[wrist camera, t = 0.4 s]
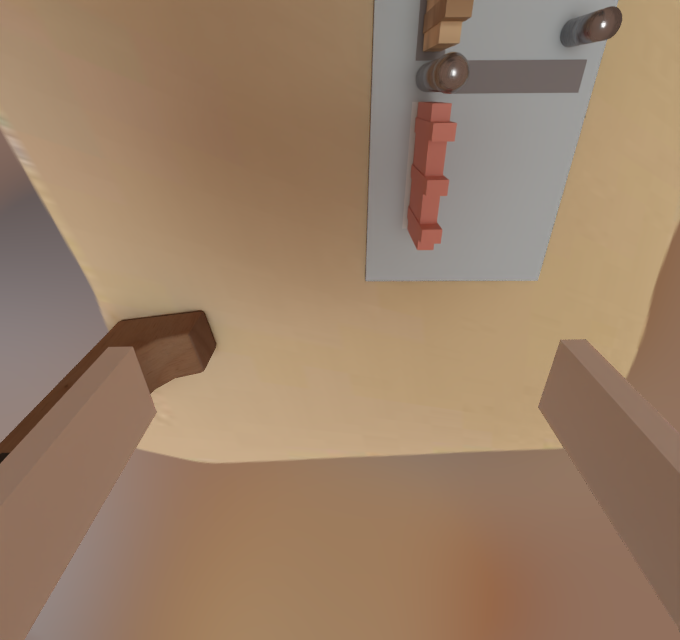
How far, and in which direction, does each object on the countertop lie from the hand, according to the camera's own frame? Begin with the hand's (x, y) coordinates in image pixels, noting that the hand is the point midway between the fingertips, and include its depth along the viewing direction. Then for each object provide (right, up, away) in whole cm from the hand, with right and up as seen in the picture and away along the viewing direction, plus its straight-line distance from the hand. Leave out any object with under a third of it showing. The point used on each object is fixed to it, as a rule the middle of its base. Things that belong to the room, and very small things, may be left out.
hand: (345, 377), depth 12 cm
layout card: (+10, +18, +16) cm, 26 cm away
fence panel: (+6, +14, +18) cm, 23 cm away
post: (+6, +19, +15) cm, 25 cm away
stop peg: (+16, +21, +14) cm, 30 cm away
